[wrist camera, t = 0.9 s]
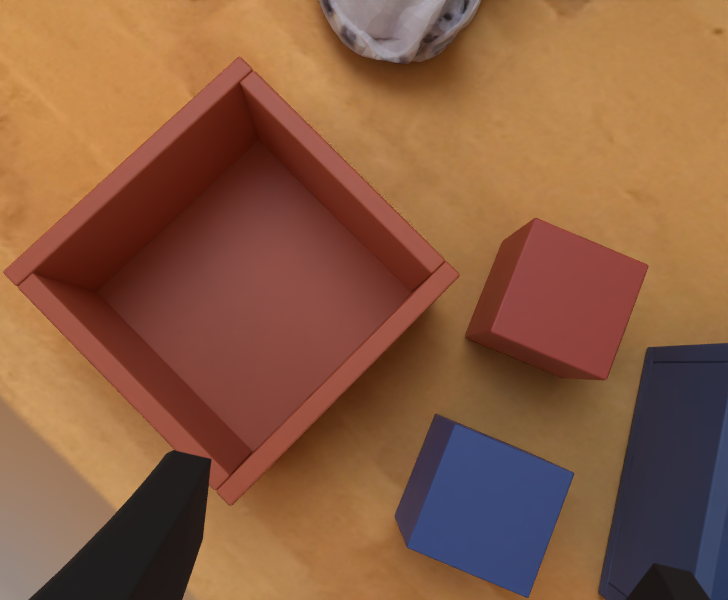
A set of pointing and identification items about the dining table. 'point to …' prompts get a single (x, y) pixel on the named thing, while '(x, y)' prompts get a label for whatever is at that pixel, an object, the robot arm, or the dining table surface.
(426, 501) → the blue block
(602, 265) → the red block
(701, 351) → the blue bin
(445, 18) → the seashell
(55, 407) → the dining table surface
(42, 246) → the red bin
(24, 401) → the dining table surface
